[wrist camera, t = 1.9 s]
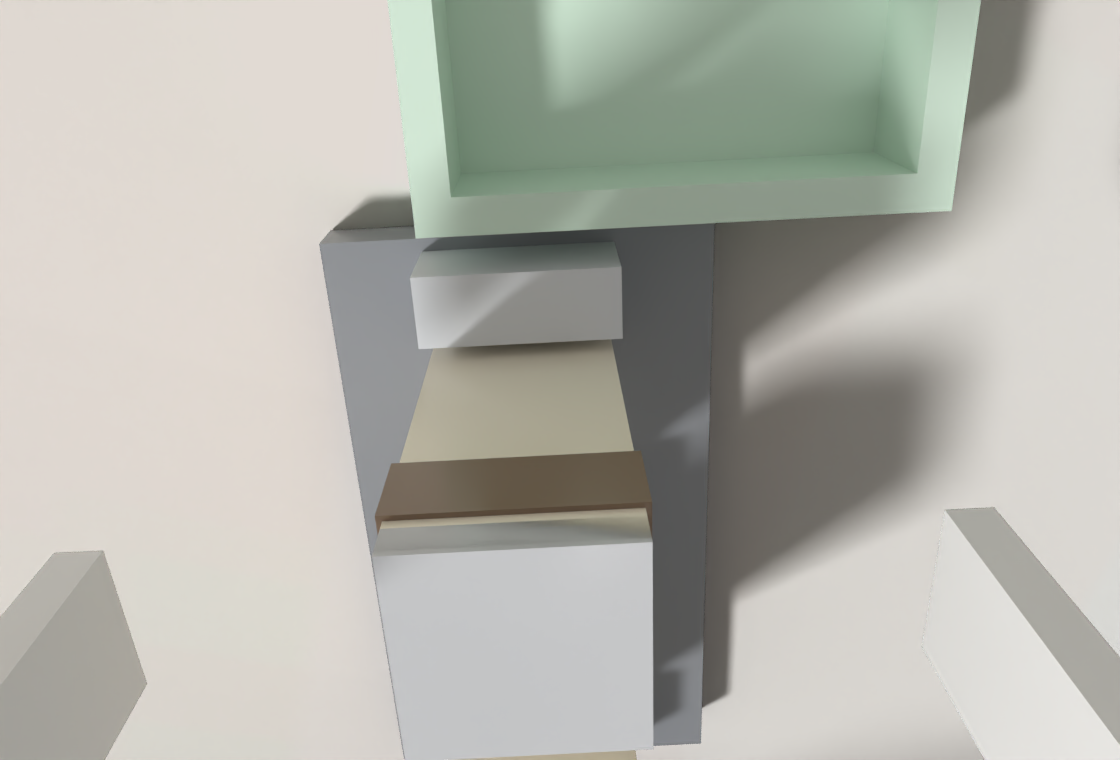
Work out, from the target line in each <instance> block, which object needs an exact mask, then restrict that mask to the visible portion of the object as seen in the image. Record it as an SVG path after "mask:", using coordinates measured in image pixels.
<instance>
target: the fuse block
mask: <svg viewBox="0 0 1120 760" xmlns="http://www.w3.org/2000/svg"><path fill="white" fill-rule="evenodd" d="M714 231H715V223H707V224H688V225H669V226H649V227H630V228H610V229H591V230H572V231H552V232H533V233H513V234H494V235H475V236H455V237H436V238H416V237H415V228H414V226H407V227H388V228H368V229H349V230H331V231H330V232H329V233H328V234H327V235H326V237H325V238H324V239H323V240H322V241H321V242H320V244H319V245H320V251H321V258H322V264H323V270H324V276H325V282H326V288H327V294H328V300H329V306H330V312H331V318H332V324H333V330H334V336H335V342H336V349H337V355H338V361H339V367H340V373H341V379H342V385H343V391H344V397H345V403H346V409H347V415H348V421H349V427H350V433H351V440H352V446H353V452H354V458H355V464H356V470H357V476H358V482H359V488H360V494H361V500H362V506H363V512H364V518H365V524H366V530H367V537H368V543H369V549H370V555H371V561H372V554H373V550H374V547H375V544H376V540H377V537H378V534H377V528H376V522H375V513H376V510H377V507H378V504H379V501H380V497H381V494H382V491H383V488H384V485H385V481H386V478H387V475H388V472H389V469H390V465H391V463H400V459H401V456H402V453H403V449H404V446H405V442H406V439H407V436H408V432H409V429H410V425H411V422H412V419H413V415H414V412H415V409H416V405H417V402H418V398H419V395H420V392H421V388H422V385H423V382H424V378H425V375H426V371H427V368H428V365H429V361H430V358H431V355H432V351H433V348H452V347H471V346H490V345H510V344H529V343H549V342H568V341H587V340H607V339H611V341H612V346H613V351H614V356H615V360H616V365H617V370H618V375H619V380H620V385H621V390H622V395H623V400H624V404H625V409H626V414H627V419H628V424H629V429H630V434H631V439H632V444H633V449H634V451H641V453H642V458H643V462H644V467H645V471H646V476H647V481H648V485H649V490H650V494H651V499H652V542H653V746H660V745H680V744H699V743H701V718H702V680H703V643H704V606H705V568H706V531H707V493H708V456H709V419H710V381H711V344H712V306H713V269H714ZM372 567H373V562H372ZM373 573H374V568H373ZM374 579H375V574H374ZM375 585H376V580H375ZM376 591H377V586H376ZM377 597H378V592H377ZM378 603H379V598H378ZM379 609H380V605H379ZM380 615H381V611H380ZM381 621H382V617H381ZM382 628H383V623H382ZM383 634H384V629H383ZM384 640H385V635H384ZM385 646H386V641H385ZM386 652H387V647H386ZM387 658H388V653H387ZM388 664H389V659H388ZM389 670H390V665H389ZM390 676H391V671H390ZM391 682H392V678H391ZM392 688H393V684H392ZM393 694H394V690H393ZM394 700H395V696H394ZM395 706H396V702H395ZM396 712H397V708H396ZM397 719H398V714H397ZM398 725H399V720H398ZM399 731H400V726H399ZM400 737H401V732H400ZM401 743H402V738H401ZM402 749H403V744H402ZM403 755H404V751H403ZM404 759H405V757H404Z"/></svg>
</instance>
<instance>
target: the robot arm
mask: <svg viewBox="0 0 1120 760" xmlns="http://www.w3.org/2000/svg"><path fill="white" fill-rule="evenodd" d="M922 649H923V650H924V652H925V654H926V656H927V658H928V659H929V661H930V663H931V665H932V667H933V668H934V670H935V672H936V674H937V675H938V677H939V679H940V681H941V683H942V684H943V686H944V688H945V690H946V692H947V693H948V695H949V697H950V699H951V701H952V702H953V704H954V706H955V708H956V709H957V711H958V713H959V715H960V717H961V718H962V720H963V722H964V724H965V726H966V727H967V729H968V731H969V733H970V735H971V736H972V738H973V740H974V742H975V744H976V745H977V747H978V749H979V751H980V752H981V754H982V756H983V758H984V760H1120V657H1119V656H1118V654H1117V653H1116V652H1115V651H1114V650H1113V648H1112V647H1111V646H1110V645H1109V644H1108V643H1107V641H1106V640H1105V639H1104V638H1103V637H1102V635H1101V634H1100V633H1099V632H1098V631H1097V629H1096V628H1095V627H1094V626H1093V625H1092V623H1091V622H1090V621H1089V620H1088V619H1087V618H1086V616H1085V615H1084V614H1083V613H1082V612H1081V610H1080V609H1079V608H1078V607H1077V606H1076V604H1075V603H1074V602H1073V601H1072V600H1071V598H1070V597H1069V596H1068V595H1067V594H1066V592H1065V591H1064V590H1063V589H1062V588H1061V587H1060V585H1059V584H1058V583H1057V582H1056V581H1055V579H1054V578H1053V577H1052V576H1051V575H1050V573H1049V572H1048V571H1047V570H1046V569H1045V567H1044V566H1043V565H1042V564H1041V563H1040V561H1039V560H1038V559H1037V558H1036V557H1035V556H1034V554H1033V553H1032V552H1031V551H1030V550H1029V548H1028V547H1027V546H1026V545H1025V544H1024V542H1023V541H1022V540H1021V539H1020V538H1019V536H1018V535H1017V534H1016V533H1015V532H1014V531H1013V529H1012V528H1011V527H1010V526H1009V525H1008V523H1007V522H1006V521H1005V520H1004V519H1003V517H1002V516H1001V515H1000V514H999V513H998V511H997V510H996V509H995V508H994V507H990V508H969V509H949V510H945V511H944V517H943V523H942V529H941V534H940V540H939V546H938V552H937V558H936V564H935V570H934V576H933V582H932V588H931V593H930V599H929V605H928V611H927V617H926V623H925V629H924V635H923V641H922ZM146 685H147V682H146V679H145V676H144V673H143V670H142V667H141V664H140V661H139V658H138V655H137V652H136V649H135V646H134V643H133V640H132V637H131V633H130V630H129V627H128V624H127V621H126V618H125V615H124V612H123V609H122V606H121V603H120V600H119V597H118V594H117V591H116V588H115V585H114V582H113V579H112V576H111V573H110V570H109V567H108V564H107V561H106V558H105V555H104V552H103V551H83V552H62V553H54V554H53V555H52V556H51V557H50V558H49V560H48V561H47V562H46V563H45V564H44V566H43V567H42V568H41V569H40V570H39V572H38V573H37V574H36V575H35V576H34V578H33V579H32V580H31V581H30V582H29V583H28V585H27V586H26V587H25V588H24V589H23V591H22V592H21V593H20V594H19V595H18V597H17V598H16V599H15V600H14V601H13V602H12V604H11V605H10V606H9V607H8V608H7V610H6V611H5V612H4V613H3V614H2V616H1V617H0V760H105V758H106V757H107V755H108V753H109V751H110V750H111V748H112V746H113V744H114V742H115V741H116V739H117V737H118V735H119V733H120V732H121V730H122V728H123V726H124V724H125V723H126V721H127V719H128V717H129V715H130V714H131V712H132V710H133V708H134V706H135V705H136V703H137V701H138V699H139V697H140V696H141V694H142V692H143V690H144V688H145V687H146Z"/></svg>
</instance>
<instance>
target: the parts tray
mask: <svg viewBox="0 0 1120 760" xmlns="http://www.w3.org/2000/svg"><path fill="white" fill-rule="evenodd" d="M980 4H981V0H388V8H389V16H390V25H391V33H392V42H393V50H394V59H395V67H396V76H397V84H398V93H399V101H400V110H401V118H402V127H403V135H404V144H405V152H406V161H407V169H408V178H409V186H410V194H411V203H412V211H413V220H414V228H415V237H416V238H436V237H455V236H475V235H494V234H513V233H533V232H552V231H572V230H591V229H610V228H630V227H649V226H669V225H688V224H707V223H727V222H746V221H766V220H785V219H804V218H824V217H843V216H863V215H882V214H902V213H921V212H940V211H952V205H953V197H954V190H955V183H956V176H957V169H958V162H959V154H960V147H961V140H962V133H963V126H964V119H965V111H966V104H967V97H968V90H969V83H970V76H971V69H972V61H973V54H974V47H975V40H976V33H977V26H978V18H979V11H980Z"/></svg>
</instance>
